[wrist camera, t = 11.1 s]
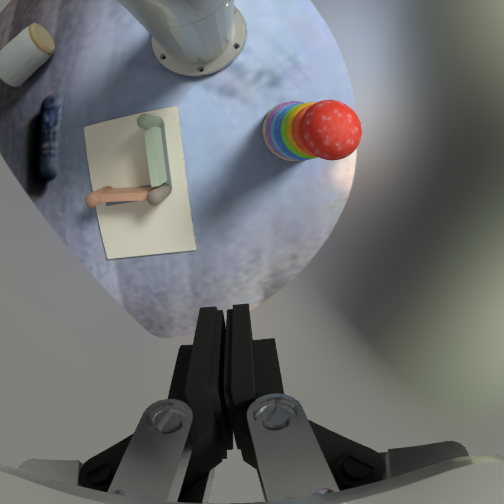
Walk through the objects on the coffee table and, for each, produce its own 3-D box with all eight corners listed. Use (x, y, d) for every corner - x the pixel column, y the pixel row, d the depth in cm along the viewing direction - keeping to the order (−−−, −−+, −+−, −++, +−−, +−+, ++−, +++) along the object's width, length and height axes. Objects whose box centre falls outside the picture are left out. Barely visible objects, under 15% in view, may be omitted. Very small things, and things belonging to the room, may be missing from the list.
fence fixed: (149, 117, 36) (135, 115, 30) (162, 115, 36) (150, 112, 30) (157, 182, 39) (145, 189, 34) (170, 180, 39) (159, 187, 34)
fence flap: (171, 183, 39) (161, 190, 34) (171, 196, 40) (161, 205, 34) (102, 186, 39) (84, 193, 33) (103, 198, 39) (85, 207, 34)
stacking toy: (276, 169, 40) (306, 196, 22) (252, 115, 37) (263, 97, 20) (329, 148, 39) (395, 160, 21) (307, 94, 36) (359, 65, 19)
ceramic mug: (63, 56, 31) (35, 45, 24) (27, 89, 32) (-3, 86, 25) (46, 15, 28) (21, 3, 21) (12, 48, 29) (-15, 41, 22)
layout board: (85, 127, 36) (83, 127, 35) (178, 106, 36) (177, 105, 35) (109, 257, 43) (107, 259, 43) (196, 248, 43) (196, 250, 43)
